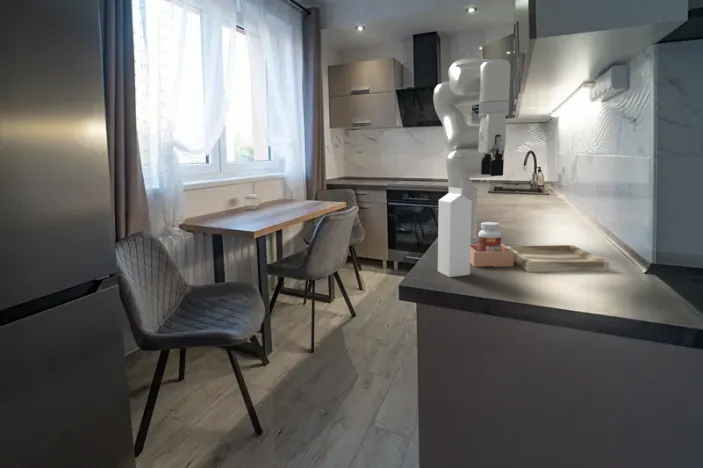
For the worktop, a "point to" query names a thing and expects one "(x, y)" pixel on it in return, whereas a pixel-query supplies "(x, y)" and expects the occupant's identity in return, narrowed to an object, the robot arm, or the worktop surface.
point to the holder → (491, 257)
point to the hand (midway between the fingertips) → (491, 175)
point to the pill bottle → (489, 237)
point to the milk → (454, 234)
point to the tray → (557, 259)
